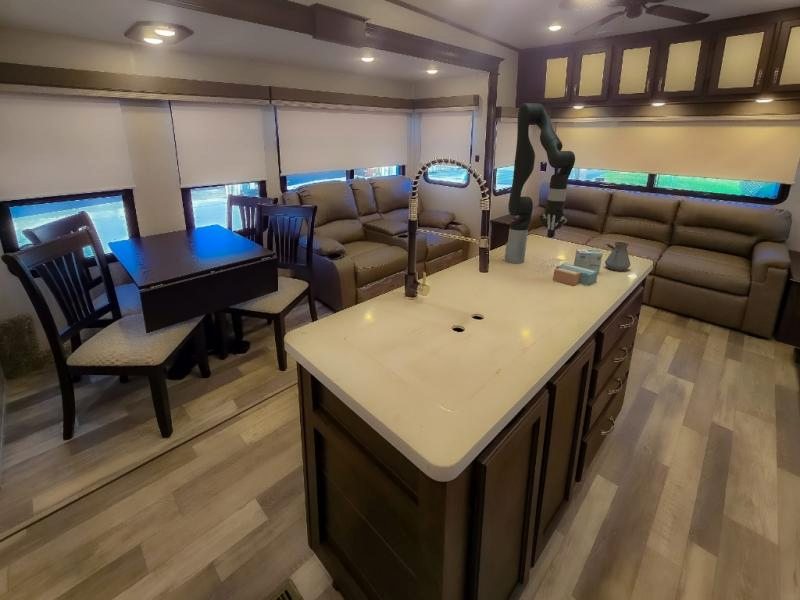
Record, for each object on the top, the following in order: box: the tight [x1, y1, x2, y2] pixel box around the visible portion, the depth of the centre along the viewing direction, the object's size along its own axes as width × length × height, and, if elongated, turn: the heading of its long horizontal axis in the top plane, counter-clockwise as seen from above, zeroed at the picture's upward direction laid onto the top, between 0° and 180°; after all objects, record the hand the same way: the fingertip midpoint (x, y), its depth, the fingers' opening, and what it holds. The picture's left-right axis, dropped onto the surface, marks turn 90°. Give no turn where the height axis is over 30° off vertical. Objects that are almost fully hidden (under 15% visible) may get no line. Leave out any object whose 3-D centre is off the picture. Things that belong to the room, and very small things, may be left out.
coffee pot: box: [603, 241, 631, 272], centre depth 201 cm, size 21×12×15 cm, turn 127°
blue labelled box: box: [555, 262, 599, 286], centre depth 190 cm, size 16×8×5 cm, turn 41°
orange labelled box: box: [552, 268, 581, 287], centre depth 186 cm, size 10×5×5 cm, turn 41°
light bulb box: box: [573, 248, 603, 275], centre depth 199 cm, size 11×7×11 cm, turn 84°
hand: (550, 237), depth 188 cm, fingers closed
